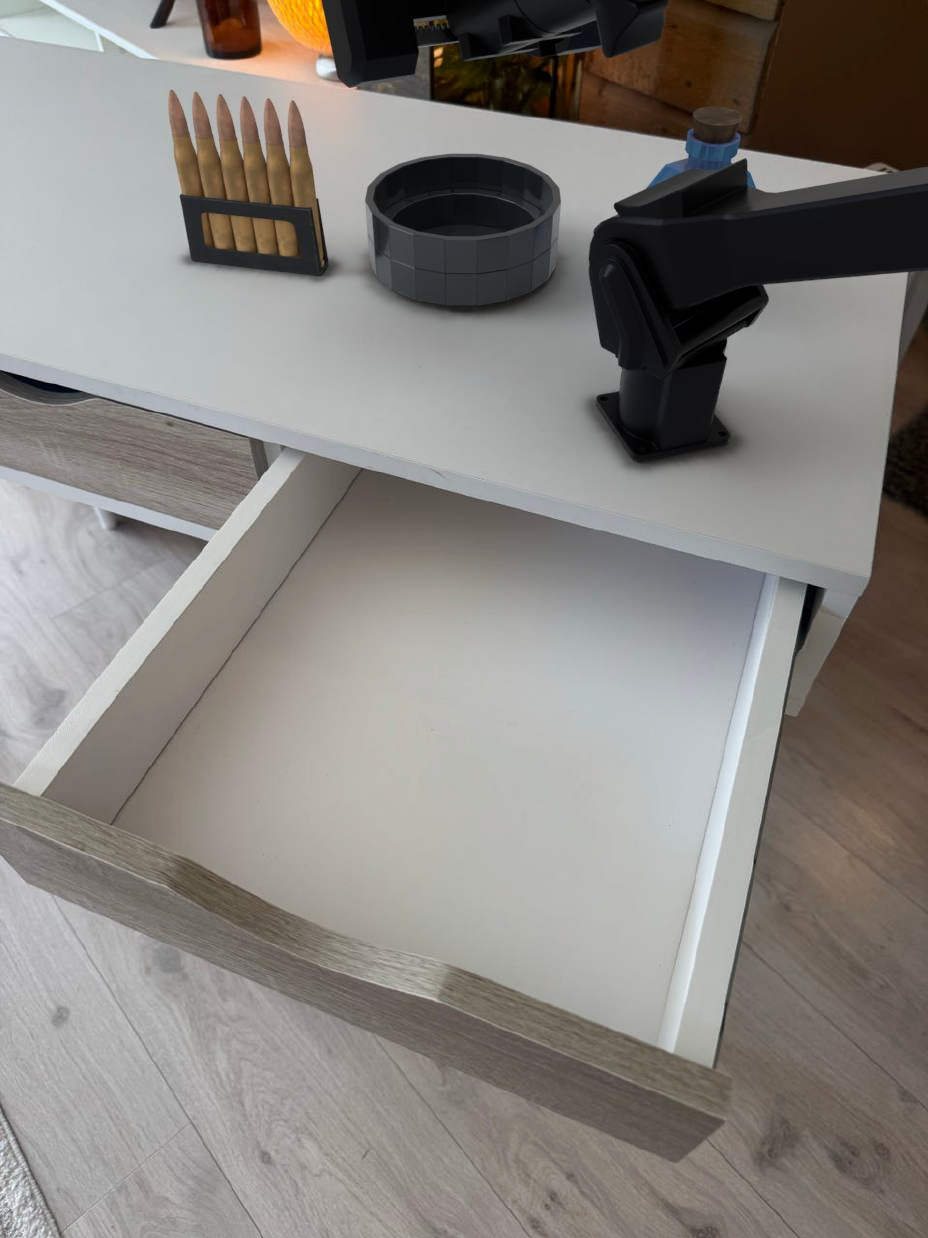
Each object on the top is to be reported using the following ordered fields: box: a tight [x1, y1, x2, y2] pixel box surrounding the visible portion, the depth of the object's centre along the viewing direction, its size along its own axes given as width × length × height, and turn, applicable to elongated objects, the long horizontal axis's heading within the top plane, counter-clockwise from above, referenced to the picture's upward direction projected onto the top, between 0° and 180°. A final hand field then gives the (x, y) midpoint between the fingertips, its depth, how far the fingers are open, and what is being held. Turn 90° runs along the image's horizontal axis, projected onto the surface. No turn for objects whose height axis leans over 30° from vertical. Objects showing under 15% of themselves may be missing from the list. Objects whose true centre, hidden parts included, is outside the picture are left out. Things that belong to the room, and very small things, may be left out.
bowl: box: [364, 153, 562, 307], centre depth 70 cm, size 14×14×6 cm
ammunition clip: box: [167, 89, 330, 277], centre depth 68 cm, size 11×2×12 cm, turn 77°
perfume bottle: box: [645, 106, 757, 189], centre depth 65 cm, size 6×6×12 cm
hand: (408, 36), depth 61 cm, fingers open, 9 cm apart
